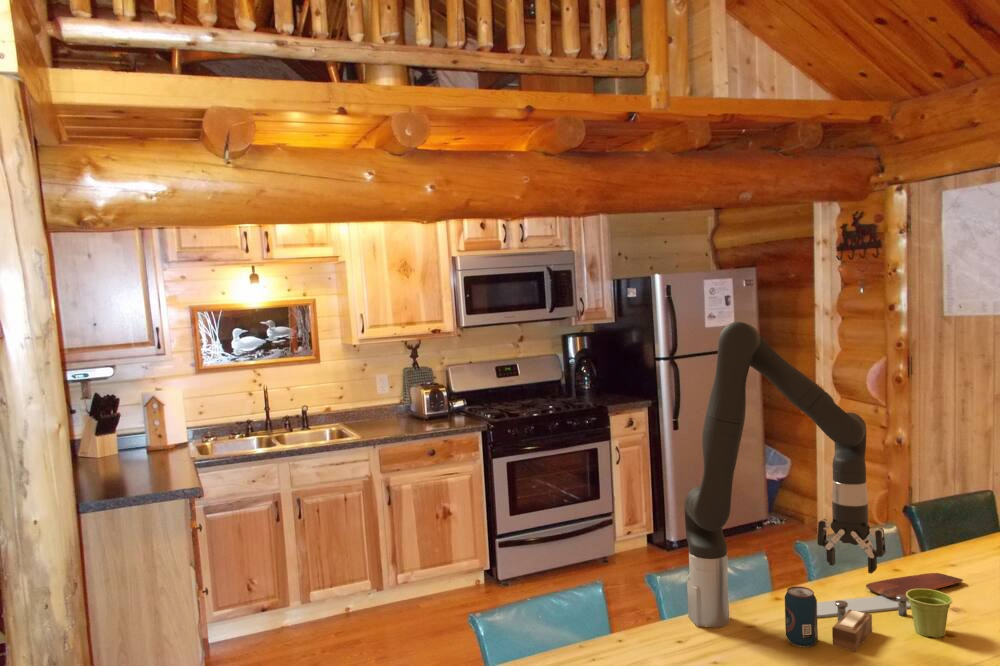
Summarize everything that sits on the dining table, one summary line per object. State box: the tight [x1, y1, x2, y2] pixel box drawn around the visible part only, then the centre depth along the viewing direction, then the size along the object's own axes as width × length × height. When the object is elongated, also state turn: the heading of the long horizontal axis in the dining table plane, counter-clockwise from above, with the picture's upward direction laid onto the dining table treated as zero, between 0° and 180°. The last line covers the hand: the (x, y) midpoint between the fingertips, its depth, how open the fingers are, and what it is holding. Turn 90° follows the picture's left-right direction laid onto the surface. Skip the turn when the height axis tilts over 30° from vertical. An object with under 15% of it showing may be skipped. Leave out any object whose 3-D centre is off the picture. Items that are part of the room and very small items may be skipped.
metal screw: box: [835, 599, 848, 622], centre depth 181 cm, size 3×3×5 cm
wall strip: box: [817, 595, 911, 619], centre depth 188 cm, size 26×7×1 cm, turn 97°
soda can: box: [784, 585, 819, 648], centre depth 171 cm, size 7×7×12 cm
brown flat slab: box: [865, 572, 964, 598], centre depth 197 cm, size 27×10×2 cm, turn 110°
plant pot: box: [906, 589, 953, 639], centre depth 173 cm, size 9×9×9 cm
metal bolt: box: [896, 594, 909, 617], centre depth 182 cm, size 3×3×5 cm
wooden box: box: [831, 609, 873, 652], centre depth 172 cm, size 12×5×5 cm, turn 138°
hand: (851, 568), depth 172 cm, fingers open, 8 cm apart
